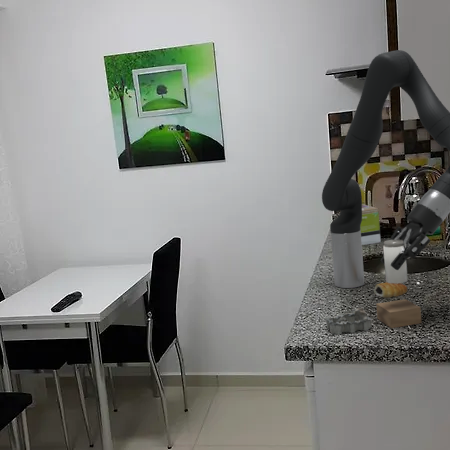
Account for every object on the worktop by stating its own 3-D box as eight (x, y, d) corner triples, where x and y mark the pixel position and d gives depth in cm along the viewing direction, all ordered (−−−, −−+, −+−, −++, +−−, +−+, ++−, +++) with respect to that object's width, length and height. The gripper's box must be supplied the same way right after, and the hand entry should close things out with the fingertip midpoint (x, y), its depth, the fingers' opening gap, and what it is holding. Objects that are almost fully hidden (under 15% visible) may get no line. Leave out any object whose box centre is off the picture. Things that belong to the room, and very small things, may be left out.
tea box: (344, 240, 256) (342, 206, 253) (366, 237, 257) (364, 203, 255) (358, 245, 241) (356, 210, 239) (381, 242, 243) (379, 207, 240)
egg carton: (365, 322, 151) (364, 306, 150) (374, 331, 144) (373, 315, 143) (324, 326, 151) (323, 311, 150) (330, 336, 143) (329, 320, 143)
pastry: (399, 289, 176) (398, 276, 176) (413, 294, 170) (412, 281, 169) (372, 294, 173) (371, 282, 173) (385, 300, 167) (384, 287, 166)
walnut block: (377, 318, 152) (376, 303, 151) (406, 313, 153) (405, 299, 152) (391, 328, 144) (390, 312, 143) (421, 323, 145) (420, 307, 145)
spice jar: (382, 280, 149) (379, 241, 147) (401, 276, 150) (398, 238, 148) (392, 284, 144) (389, 244, 142) (411, 281, 145) (408, 241, 143)
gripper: (406, 200, 152) (366, 251, 152) (435, 205, 138) (390, 262, 138) (426, 217, 154) (386, 268, 154) (456, 224, 140) (413, 280, 140)
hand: (388, 265), depth 146 cm, fingers closed on spice jar, 5 cm apart
